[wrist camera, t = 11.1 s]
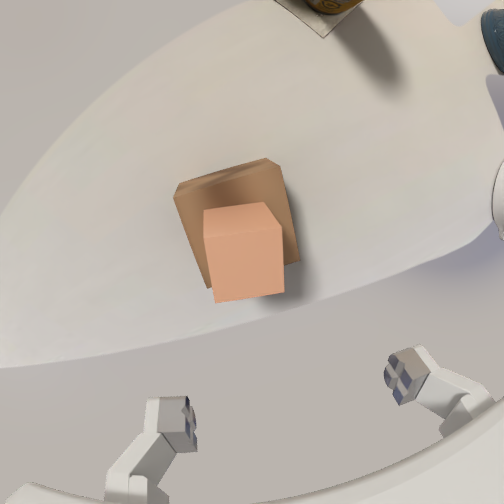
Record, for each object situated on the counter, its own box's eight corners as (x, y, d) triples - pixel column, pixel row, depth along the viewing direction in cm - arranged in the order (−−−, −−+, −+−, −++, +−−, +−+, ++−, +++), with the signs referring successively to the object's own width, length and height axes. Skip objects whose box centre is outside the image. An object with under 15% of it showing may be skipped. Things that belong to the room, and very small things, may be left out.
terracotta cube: (263, 201, 24) (281, 227, 18) (267, 255, 26) (284, 292, 21) (203, 209, 23) (203, 238, 18) (212, 263, 25) (215, 303, 20)
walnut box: (265, 157, 28) (280, 166, 23) (283, 236, 32) (300, 260, 27) (179, 183, 28) (173, 197, 22) (206, 259, 32) (207, 288, 26)
